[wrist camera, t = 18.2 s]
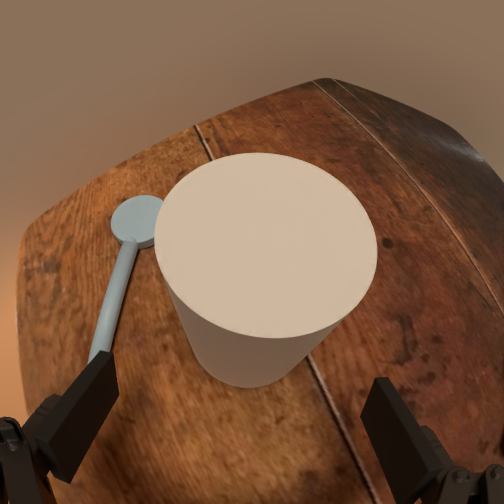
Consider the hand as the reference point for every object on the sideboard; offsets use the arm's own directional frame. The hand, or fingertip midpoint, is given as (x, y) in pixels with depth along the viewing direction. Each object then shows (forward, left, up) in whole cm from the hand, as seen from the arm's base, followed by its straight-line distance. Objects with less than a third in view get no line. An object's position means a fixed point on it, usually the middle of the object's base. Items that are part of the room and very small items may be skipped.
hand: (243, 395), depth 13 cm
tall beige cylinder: (0, +5, -6) cm, 8 cm away
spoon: (-10, +8, -5) cm, 14 cm away
